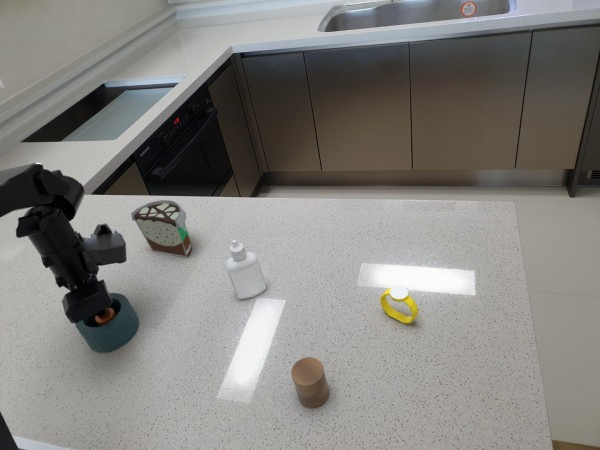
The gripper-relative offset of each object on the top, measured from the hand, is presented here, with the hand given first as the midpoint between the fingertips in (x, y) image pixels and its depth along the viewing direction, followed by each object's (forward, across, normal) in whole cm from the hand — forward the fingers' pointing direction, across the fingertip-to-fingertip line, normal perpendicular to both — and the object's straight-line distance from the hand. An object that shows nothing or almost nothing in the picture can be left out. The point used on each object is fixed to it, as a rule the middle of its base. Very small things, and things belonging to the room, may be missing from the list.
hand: (101, 311), depth 78 cm
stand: (+5, -32, -21) cm, 39 cm away
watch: (+6, -30, -40) cm, 50 cm away
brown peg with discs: (+4, 0, 0) cm, 4 cm away
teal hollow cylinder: (+5, 0, 0) cm, 5 cm away
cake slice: (+6, +15, -18) cm, 24 cm away
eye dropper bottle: (+6, -8, -24) cm, 26 cm away
